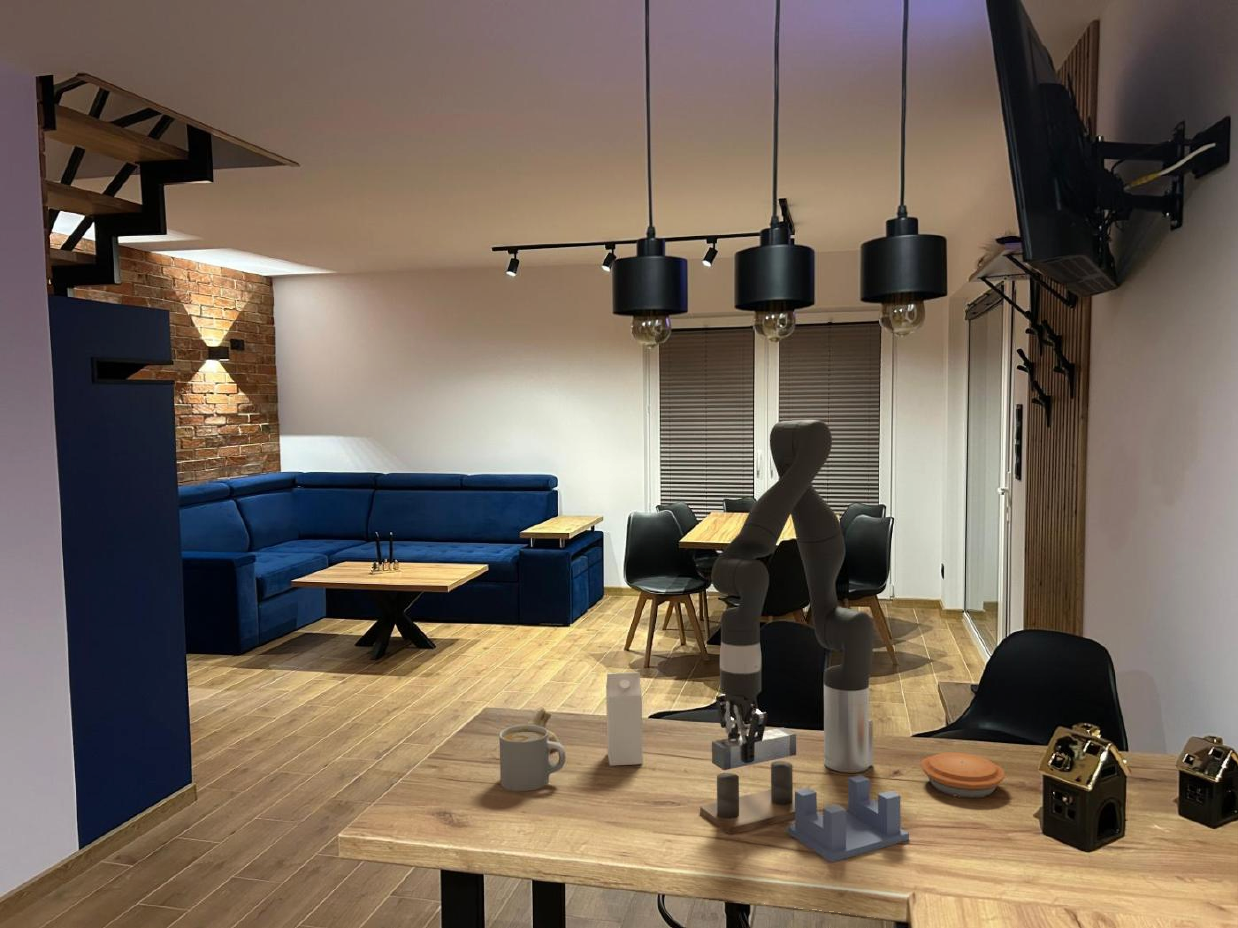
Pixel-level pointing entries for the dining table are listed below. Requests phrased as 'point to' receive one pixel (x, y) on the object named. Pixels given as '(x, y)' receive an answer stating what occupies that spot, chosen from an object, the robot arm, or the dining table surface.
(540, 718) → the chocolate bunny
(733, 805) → the stand
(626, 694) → the milk carton
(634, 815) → the dining table surface
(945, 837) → the dining table surface
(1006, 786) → the dining table surface
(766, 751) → the steel bar
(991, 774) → the pie
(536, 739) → the coffee mug
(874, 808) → the notched cradle
